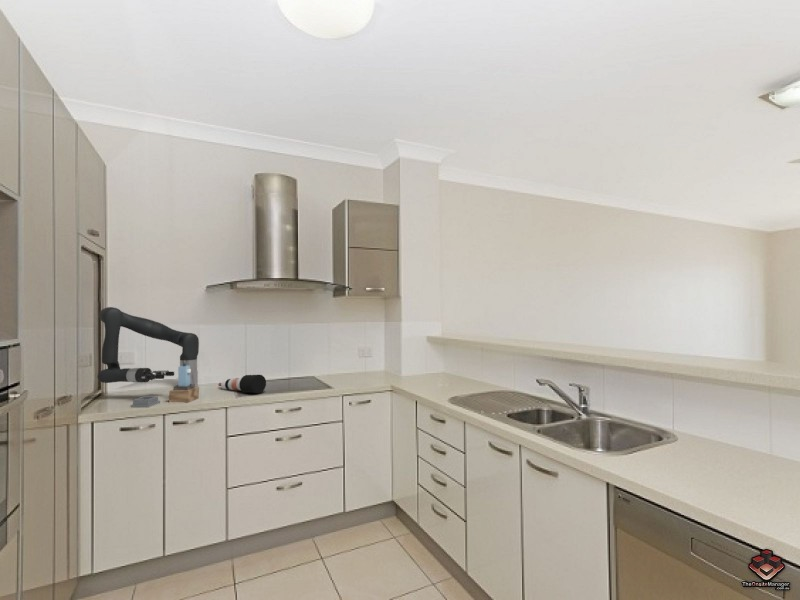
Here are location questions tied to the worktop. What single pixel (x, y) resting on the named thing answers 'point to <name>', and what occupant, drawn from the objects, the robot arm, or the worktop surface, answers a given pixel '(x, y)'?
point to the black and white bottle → (245, 384)
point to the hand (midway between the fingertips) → (169, 375)
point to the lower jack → (145, 401)
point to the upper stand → (184, 393)
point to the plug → (184, 374)
